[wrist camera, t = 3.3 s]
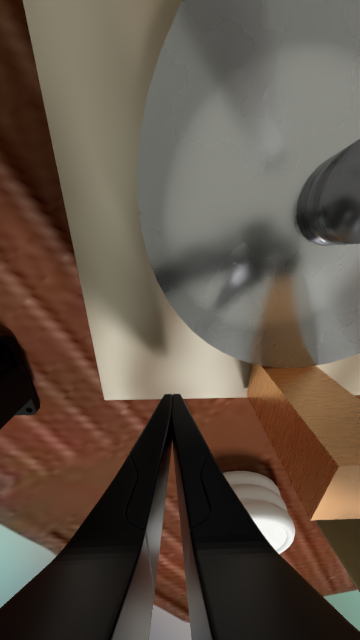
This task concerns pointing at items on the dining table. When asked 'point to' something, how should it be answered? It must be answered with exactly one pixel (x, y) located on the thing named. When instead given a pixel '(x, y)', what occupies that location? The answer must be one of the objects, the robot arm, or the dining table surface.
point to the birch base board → (123, 198)
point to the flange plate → (265, 215)
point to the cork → (344, 543)
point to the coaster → (264, 506)
